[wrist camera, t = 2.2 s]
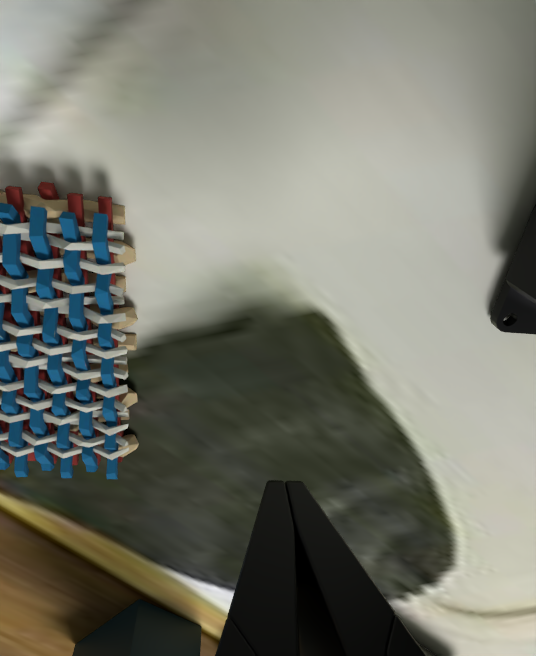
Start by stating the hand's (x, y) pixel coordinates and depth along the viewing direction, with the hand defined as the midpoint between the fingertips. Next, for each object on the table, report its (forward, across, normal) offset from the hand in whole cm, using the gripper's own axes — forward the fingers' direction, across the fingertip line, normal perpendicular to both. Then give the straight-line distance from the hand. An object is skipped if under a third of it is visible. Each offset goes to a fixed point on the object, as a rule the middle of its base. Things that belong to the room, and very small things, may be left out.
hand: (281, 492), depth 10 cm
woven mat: (+7, +10, 0) cm, 12 cm away
